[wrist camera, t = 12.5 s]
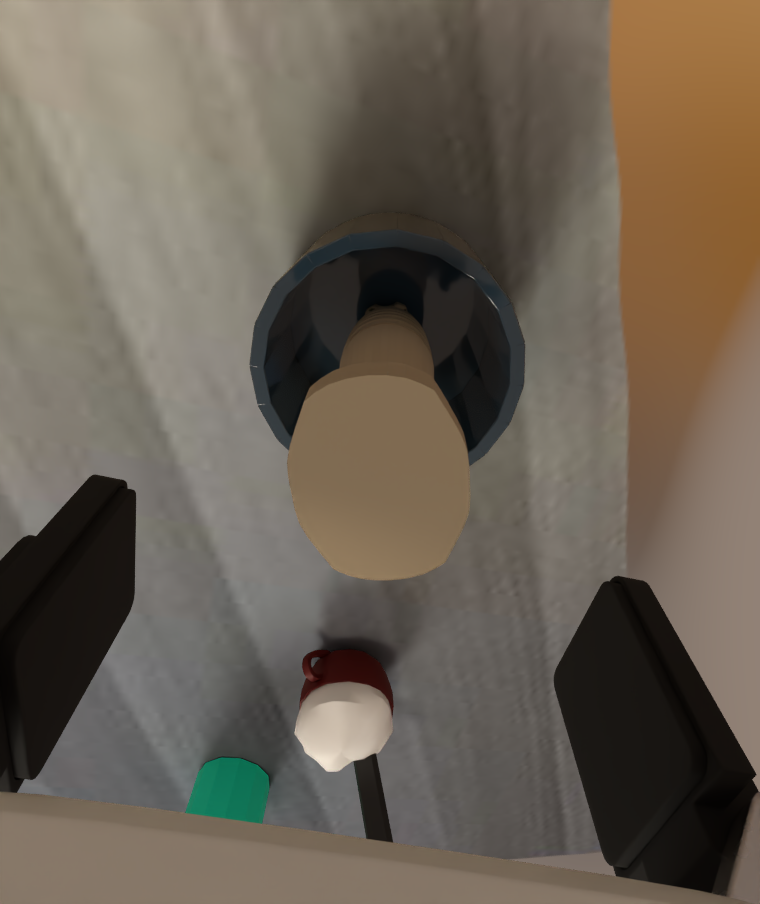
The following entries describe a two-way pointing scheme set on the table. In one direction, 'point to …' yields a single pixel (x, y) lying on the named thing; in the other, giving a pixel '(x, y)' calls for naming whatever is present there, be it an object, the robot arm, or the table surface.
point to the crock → (383, 283)
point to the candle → (230, 790)
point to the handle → (380, 455)
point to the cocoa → (349, 724)
